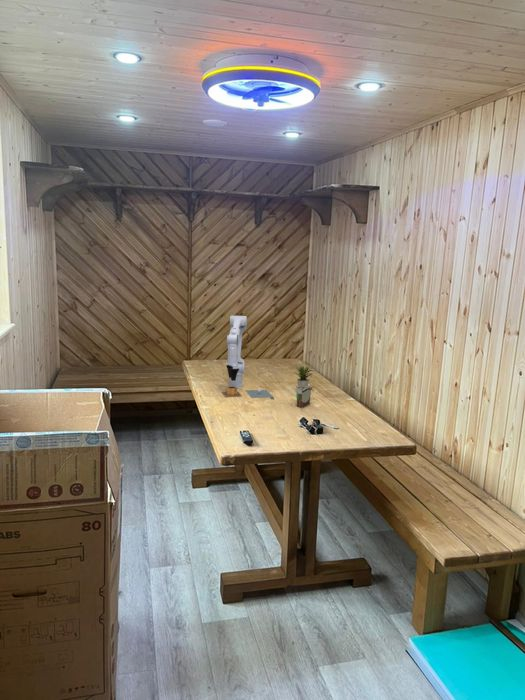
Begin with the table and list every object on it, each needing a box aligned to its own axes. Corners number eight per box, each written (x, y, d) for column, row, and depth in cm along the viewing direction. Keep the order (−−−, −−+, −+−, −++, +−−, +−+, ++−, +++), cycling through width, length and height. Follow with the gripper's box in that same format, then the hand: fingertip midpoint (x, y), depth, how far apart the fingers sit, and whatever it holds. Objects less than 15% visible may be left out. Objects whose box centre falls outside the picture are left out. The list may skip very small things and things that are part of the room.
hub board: (244, 392, 321) (245, 384, 320) (266, 391, 324) (266, 384, 323) (251, 400, 304) (251, 392, 303) (273, 399, 307) (274, 391, 306)
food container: (300, 402, 303) (301, 384, 301) (310, 404, 300) (311, 386, 298) (290, 406, 292) (291, 388, 291) (300, 408, 289) (301, 390, 287)
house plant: (311, 393, 322) (312, 366, 320) (288, 391, 327) (289, 364, 324) (316, 388, 336) (318, 362, 333) (295, 386, 340) (296, 360, 337)
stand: (221, 394, 315) (221, 386, 314) (238, 393, 317) (238, 386, 316) (224, 399, 303) (224, 391, 302) (242, 398, 305) (242, 391, 305)
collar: (226, 393, 312) (226, 386, 311) (235, 393, 313) (235, 386, 312) (227, 395, 306) (227, 388, 306) (237, 395, 308) (237, 388, 307)
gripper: (223, 353, 312) (223, 376, 314) (227, 357, 298) (227, 382, 300) (235, 353, 314) (235, 376, 316) (240, 357, 300) (239, 381, 302)
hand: (232, 379), depth 308 cm, fingers open, 7 cm apart
